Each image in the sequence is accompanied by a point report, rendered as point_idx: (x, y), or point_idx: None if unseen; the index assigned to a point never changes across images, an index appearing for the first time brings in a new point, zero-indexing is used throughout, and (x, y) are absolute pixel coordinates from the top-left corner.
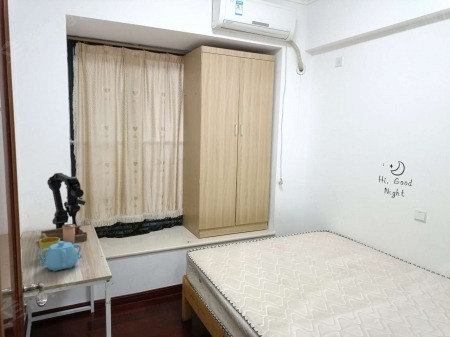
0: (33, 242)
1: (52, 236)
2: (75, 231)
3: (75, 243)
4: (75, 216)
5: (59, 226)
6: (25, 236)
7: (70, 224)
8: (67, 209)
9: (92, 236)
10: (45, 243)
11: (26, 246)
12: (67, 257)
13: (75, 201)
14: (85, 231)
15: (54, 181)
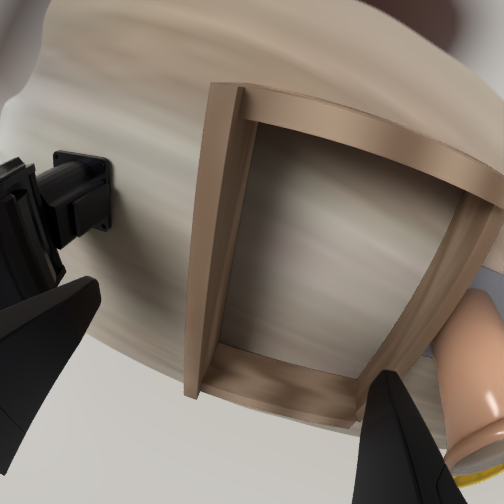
0: None
1: (218, 319)
2: (244, 146)
3: (480, 282)
4: (424, 433)
5: (77, 236)
6: (102, 342)
7: (499, 446)
8: (15, 433)
9: (438, 59)
10: (487, 477)
11: (266, 412)
12: None
13: None
14: (486, 170)
15: None
